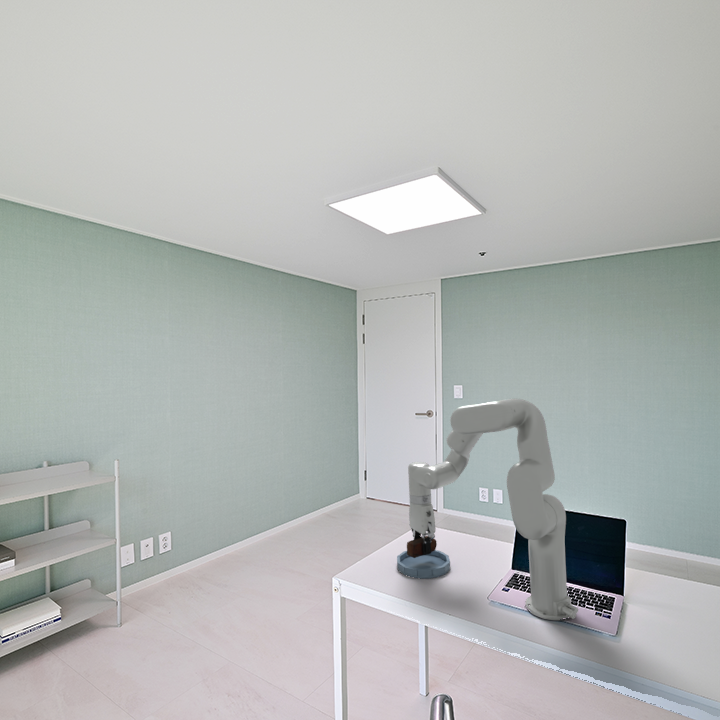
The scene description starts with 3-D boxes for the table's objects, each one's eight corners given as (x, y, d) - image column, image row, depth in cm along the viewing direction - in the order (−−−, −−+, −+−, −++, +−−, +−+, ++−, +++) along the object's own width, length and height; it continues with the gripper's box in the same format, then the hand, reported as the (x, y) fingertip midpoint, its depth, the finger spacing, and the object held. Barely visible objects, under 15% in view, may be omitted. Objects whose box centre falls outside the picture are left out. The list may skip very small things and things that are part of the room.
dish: (460, 570, 155) (460, 562, 155) (415, 583, 148) (414, 574, 148) (430, 552, 172) (430, 545, 172) (388, 563, 164) (387, 555, 164)
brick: (414, 559, 155) (414, 545, 155) (406, 555, 158) (406, 541, 158) (437, 550, 161) (436, 537, 161) (429, 547, 164) (428, 534, 164)
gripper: (443, 502, 154) (446, 557, 154) (416, 491, 169) (418, 541, 169) (424, 506, 151) (427, 562, 151) (398, 494, 166) (400, 545, 166)
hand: (422, 550), depth 160 cm, fingers closed on brick, 4 cm apart
